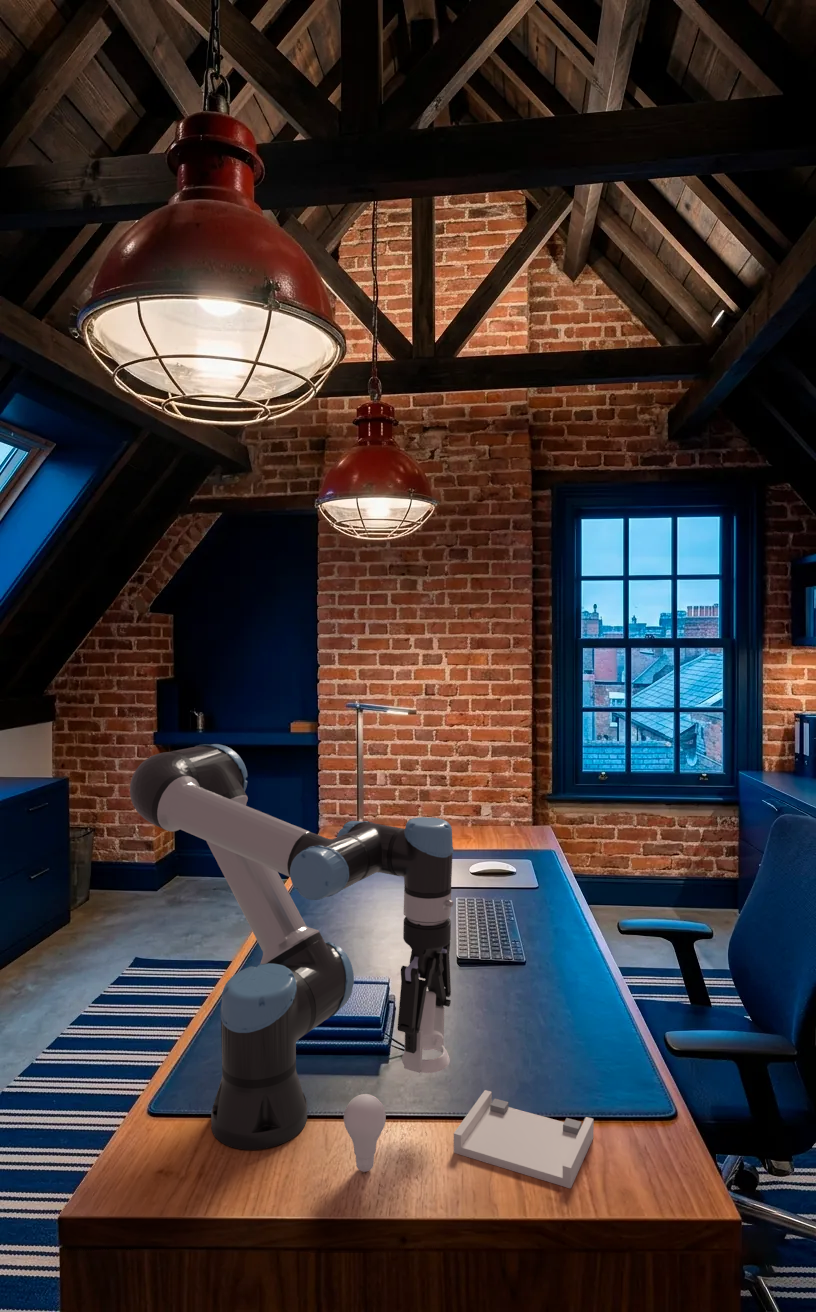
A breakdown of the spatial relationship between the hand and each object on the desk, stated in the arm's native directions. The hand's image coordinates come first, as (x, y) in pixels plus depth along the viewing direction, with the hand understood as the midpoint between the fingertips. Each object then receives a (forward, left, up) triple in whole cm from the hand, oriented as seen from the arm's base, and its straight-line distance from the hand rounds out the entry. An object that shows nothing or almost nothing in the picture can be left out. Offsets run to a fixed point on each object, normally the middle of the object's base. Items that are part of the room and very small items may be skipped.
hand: (424, 1056), depth 135 cm
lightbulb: (-2, -15, -11) cm, 19 cm away
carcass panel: (+17, +1, -10) cm, 20 cm away
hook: (0, 0, -1) cm, 1 cm away
